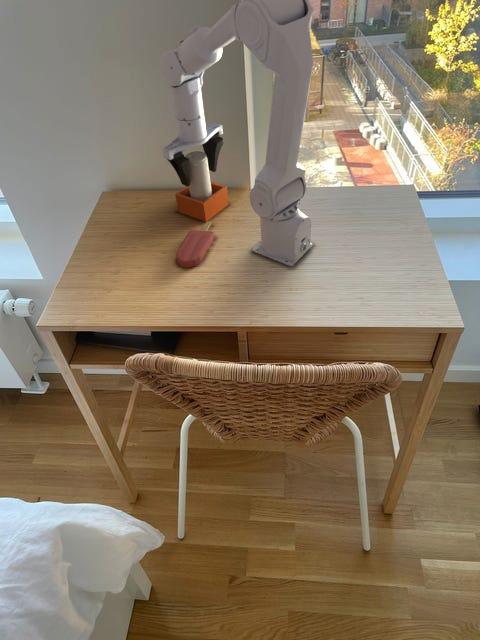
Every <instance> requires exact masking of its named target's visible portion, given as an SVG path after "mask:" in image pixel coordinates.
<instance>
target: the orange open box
mask: <svg viewBox="0 0 480 640" xmlns="http://www.w3.org/2000/svg"><path fill="white" fill-rule="evenodd" d="M210 182H211V190H212V196H211V197H209V198H208V199H207V200H205V201H204V202H201V201H198V200H196V199H193V198H191V196H190V190H189V186H188V187H187V186H184V187H183V188H182V189H180V190H179V191H177V192H176V193H174V195H175V202H176V206H177V210H178V212H179V213H180V214H183V215H186V216H188V217H192V218H194V219H197V220H199V221H202V222H204V223H206V222H207V221H210V220H211V219H212V218H213V217H215V216H216V215H217V214H218V213H220V212H221V211H223V209H225V208H226V207H227V206H229V195H228V186H226V185H223V184H220V183H217V182H214V181H211V180H210Z"/></svg>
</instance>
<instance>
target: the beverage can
mask: <svg viewBox="0 0 480 640" xmlns="http://www.w3.org/2000/svg"><path fill="white" fill-rule="evenodd" d="M184 157H186V158H189V159H190V160H189V178H190V186H189V190H190V196H191V198H193V199H196V200H198V201H201V202H204V201H205V200H207V199H208V198H209V197H211V196H212V190H211V182H212V181H211V178H210V177H211V175H210V170H209V167H208V160H207V156H206V154H205V152H204V151H201V150H200V151H199V150H198V151H197V150H196V151H191V152H188V153H187V154H185V155H184ZM210 181H211V182H210Z"/></svg>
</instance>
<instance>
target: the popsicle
mask: <svg viewBox="0 0 480 640" xmlns="http://www.w3.org/2000/svg"><path fill="white" fill-rule="evenodd" d="M211 225H212V221H211V220H208V221H207V222H204V225H203V227H202V229H194V228H193V229H192V228H191V229H190V230H189V231H188V233H187V235H186V236H185V238H184V240H183V242H182V243H181V245H180V247H179V249H178V251H177V252H176V262H177V264H178V265H179V266H180V267H182V268H192V267H195V266H197V265H199V264H200V263H201V262H202V260H203V259H204V257H205V255H206V254H207V252H208V250H209V248H210V246H211V244H212V243H213V241H214V239H215V232H214V231H210V230H209V228H210V227H211Z"/></svg>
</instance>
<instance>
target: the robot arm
mask: <svg viewBox="0 0 480 640" xmlns="http://www.w3.org/2000/svg"><path fill="white" fill-rule="evenodd" d="M313 15H314V8H313V7H312V4H311V2H310V1H309V0H240V1H239V2H237V3H235V4H233V5H231V7H230V9H229V10H228V11H227V12H226V13H224V15H223V16H222V17H220V19H218V20H217V21H216V22H215V23H214V25H212V26H211V27H209V26H200V25H197V26H194V27H192V28H191V29H189V34H190V35H189V36H187V38H184V39H180V40H179V41H177V43H176V44H177V47H176V48H174V49H171V50H164V51H162V54H161V55H160V57H159V69H160V72H161V75H162V77H163V79H164V81H165V82H166V83H167V84H168V85H169V88H170V94H171V100H172V106H173V111H174V117H175V123H176V128H177V137H176V138H174V139H173V140H172V141H171V142H170V143H169V144H167V145H166V146H164V147H162V148H161V150H162V155H163V158H164V159H166V160H167V162H169V164H170V166H172V168H173V170H174V171H175V172H176V175H177V176H178V179H179V181H180V183H181V185H183V186H184V187H186V186H187V187H188V186H190V178H189V160H190V159H189V158H186V157H185V154H184V153H183V152H186V151H188V150H189V149H192V148H195V147H199V146H202V148H203V152H204V153H205V154H206V156H207V160H208V167H209V172H213V173H216V172H217V169H218V168H217V167H218V162H219V161H218V160H219V157H220V153H221V150H222V147H223V145H224V144H225V141H224V137H222V135H223V134H224V130H223V124H221V123H218V122H214V123H213V124H209V125H206V118H205V117H206V116H205V110H204V109H205V108H204V102H203V95H202V94H203V93H202V87H203V85H204V80H203V76H204V74H205V72H206V70H208V69H209V68H210V67H212V66H213V65H214V64H216V63H217V62H218V61H219V60H221V58H222V55H223V49H224V48H225V47H226V46H228V45H230V44H231V43H233V42H234V41H235V40H236V41H238V42H240V41H241V42H242V43H243V45H244V46H245V47H246V48H247V49H248V50H249V51H250V52H251V53H252V55H253V56H254V57H255V58H256V59H257V60H258V61H259V62H260V63H261V64H262V66H264V67H265V69H269V70H272V72H273V74H274V76H273V86H272V94H271V106H270V115H269V125H268V135H267V143H266V154H265V155H266V156H265V163H264V165H263V166H262V168H261V169H260V170H259V172H258V173H257V175H256V177H255V178H254V184H253V187H252V188H251V189H250V191H249V203H250V206H251V207H252V210H253V211H254V213H255V214H256V215H258V216H259V222H260V241H259V243H257V244H256V245H255V246H254V247H253V248H252V252H254V253H256V254H258V255H261V256H264V257H267V258H269V259H271V260H274V261H276V262H279V263H282V264H284V265H287V266H289V267H293V266H295V264H297V263H298V261H299V260H301V258H302V257H303V256H304V255H305V254H306V253H307V252H308V251H309V250H310V249H311V248H312V247H313V243H312V242H311V241H312V240H311V239H312V220H311V218H310V216H308V215H305V214H304V213H303V212H302V211H300V209H299V207H300V206H301V200H302V199H303V198H304V197H305V196H306V194H307V189H308V187H307V183H306V170H307V169H306V168H305V167H304V166H303V165H302V164H301V163H300V162H299V156H300V150H301V143H302V142H301V141H302V137H303V131H304V125H305V118H306V114H307V113H306V112H307V105H308V101H309V94H310V89H311V82H312V76H313V69H314V55H313V47H312V39H311V27H312V21H313Z"/></svg>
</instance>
